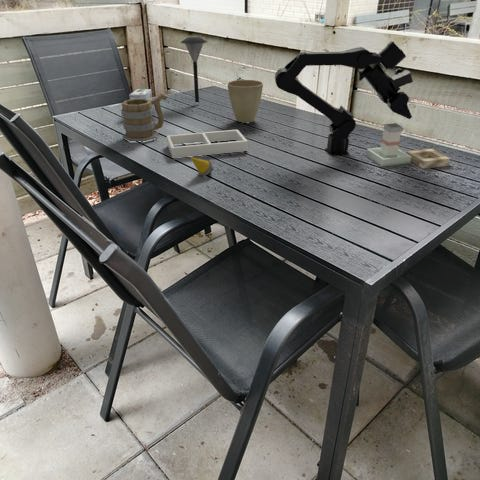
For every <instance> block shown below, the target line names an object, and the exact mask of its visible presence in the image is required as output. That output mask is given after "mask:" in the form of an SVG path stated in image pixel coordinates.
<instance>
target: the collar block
mask: <svg viewBox="0 0 480 480" xmlns="http://www.w3.org/2000/svg"><path fill="white" fill-rule="evenodd" d="M406 153H407V154H408V155H410V156H412V157H411V161H410V163H412V164H414V165H416V166H417V167H420V168H421V169H422V170H423V169H431V168H432V169H433V168H440V167H447V166H449V165H450V161H451V157H449V156H446V155H444V154H443V153H441V152H439V151H437V150H435V149H434V148H425V149H416V150H407V151H406Z"/></svg>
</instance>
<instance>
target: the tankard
mask: <svg viewBox="0 0 480 480" xmlns="http://www.w3.org/2000/svg"><path fill="white" fill-rule="evenodd" d="M167 99H168V96H167V95H165V94H163V93H159V95H158V96H156V97H154V99H153V98H152V100H147V99H130V98H129V99H126V100H124V101H123V102H122V103H121V107H122V109H121V110H120V113H121V117H123V121H124V122H122V125H123V129H124V131H125V133H124V134H123V135H122V139H123V138H125V139H127V140H129V141H141V142H143V141H147V140H150V139H154V138H156V136H157V135H158V136H159V132H158V131H156V130H159V129H161V128H163V125H164V122H165V114H164V112H163V111H162V107H161V101H162V100H163V101H166V100H167ZM152 105H154V106H153V107H152ZM155 112H156V115H157V117H158V121H157V122H156V120H155V119H154V116H153V115H154V114H155ZM156 139H157V138H156Z"/></svg>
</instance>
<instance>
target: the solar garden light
mask: <svg viewBox="0 0 480 480" xmlns="http://www.w3.org/2000/svg"><path fill="white" fill-rule="evenodd" d="M206 43H208V41H207V40H205V39H203V38H202V37H200V36H189V37H186V38H184V39H182V41H180V44H184V45H185V47H186V49H187V51H188V54H189V55H190V59H191V60H192V67H193V68H192V69H193V85H194V86H193V87H194V101H195V102H199V103H200V98H199V96H200V95H199V76H198V59H199V56H200V54H201V51H202V48H203V45H204V44H206ZM195 102H194V103H195Z"/></svg>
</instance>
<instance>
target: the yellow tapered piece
mask: <svg viewBox="0 0 480 480" xmlns="http://www.w3.org/2000/svg"><path fill="white" fill-rule="evenodd" d="M189 159H190V160H191V161H192V163H193V165H194V166H195V168H196V170H197V173H198V175H200V176H201V177H206V176H207V175H209V174H212V173H211V172H213V171H214V168H213V162H212V161H210V160H209V159H201V158H198V157H190V158H189Z"/></svg>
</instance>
